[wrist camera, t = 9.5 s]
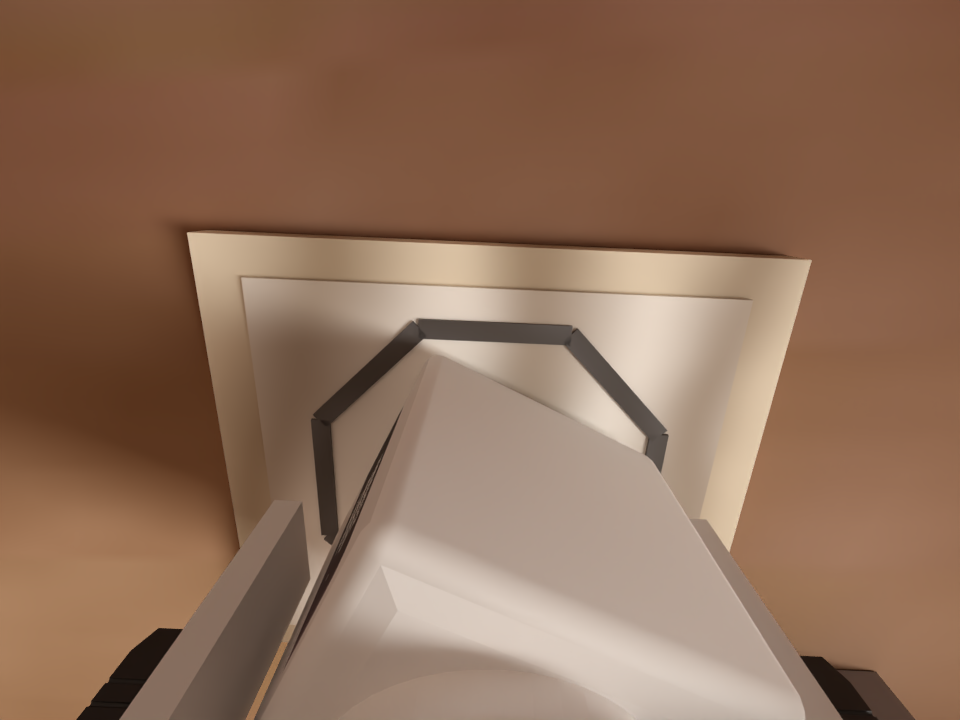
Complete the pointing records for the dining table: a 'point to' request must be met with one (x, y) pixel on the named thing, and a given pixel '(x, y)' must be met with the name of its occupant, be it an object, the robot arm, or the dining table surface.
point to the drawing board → (484, 356)
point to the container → (519, 582)
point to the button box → (877, 695)
